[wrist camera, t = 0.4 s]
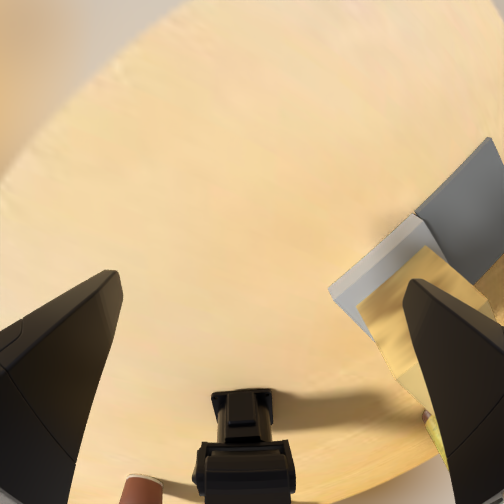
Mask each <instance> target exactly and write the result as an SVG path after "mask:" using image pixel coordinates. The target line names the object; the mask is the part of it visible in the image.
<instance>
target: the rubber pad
mask: <svg viewBox="0 0 504 504" xmlns="http://www.w3.org/2000/svg"><path fill="white" fill-rule="evenodd" d="M415 213H416V214H417V216H418V217H419V218H420V219H422V220H423V221H424V223H425V224H426V226H427V227H428V229H429V231H430V232H431V234H432V236H433V237H434V239H435V241H436V242H437V244H438V246H439V248H440V249H441V251H442V253H443V254H444V256H445V258H446V260H447V262H448V263H449V265H450V266H451V267H452V268H453V269H455V270H456V271H457V272H458V273H459V274H460V275H461V276H463V277H464V278H465V279H466V280H467V281H468V282H469V283H470V284H472V285H474V284H475V283H476V282H477V281H478V280H479V279H480V278H481V277H482V276H483V275H484V274H485V273H486V272H487V271H488V270H489V268H490V267H491V266H492V265H493V264H494V263H495V262H496V261H497V260H498V259H499V258H500V257H501V256H502V254H503V253H504V165H503V163H502V160H501V158H500V156H499V154H498V151H497V149H496V147H495V145H494V143H493V141H492V138H490V137H487V138H486V139H485V140H484V141H483V142H482V143H481V144H480V145H479V147H478V148H477V149H476V150H475V151H474V152H473V153H472V154H471V155H470V156H469V157H468V158H467V159H466V160H465V161H464V162H463V163H462V164H461V165H460V166H459V168H458V169H457V170H456V171H455V172H454V173H453V174H452V175H451V176H450V177H449V178H448V179H447V180H446V181H445V182H444V183H443V184H442V185H441V186H440V187H439V188H438V189H437V190H436V191H435V192H434V193H433V194H432V195H431V196H430V197H429V198H427V199H426V200H425V201H424V202H423V203H422V204H421V205H420V206H419V207H418V208H417V209H416V210H415Z"/></svg>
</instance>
